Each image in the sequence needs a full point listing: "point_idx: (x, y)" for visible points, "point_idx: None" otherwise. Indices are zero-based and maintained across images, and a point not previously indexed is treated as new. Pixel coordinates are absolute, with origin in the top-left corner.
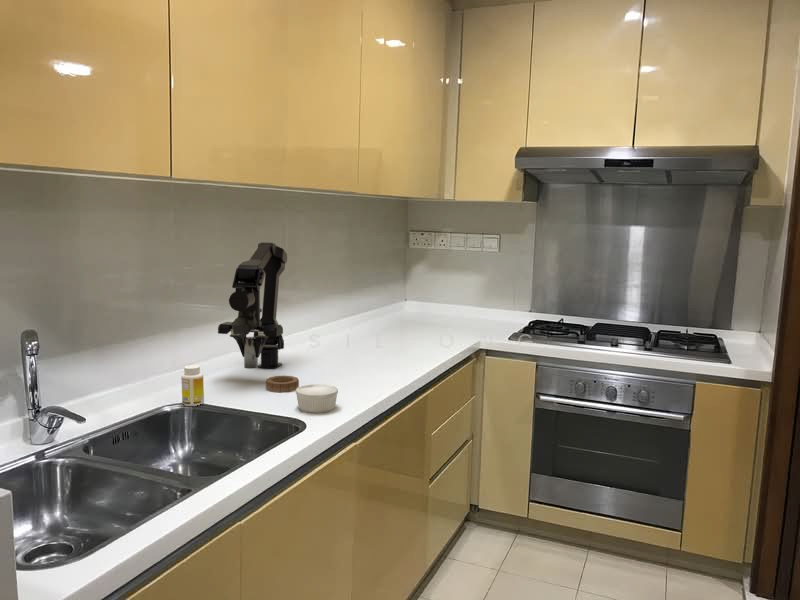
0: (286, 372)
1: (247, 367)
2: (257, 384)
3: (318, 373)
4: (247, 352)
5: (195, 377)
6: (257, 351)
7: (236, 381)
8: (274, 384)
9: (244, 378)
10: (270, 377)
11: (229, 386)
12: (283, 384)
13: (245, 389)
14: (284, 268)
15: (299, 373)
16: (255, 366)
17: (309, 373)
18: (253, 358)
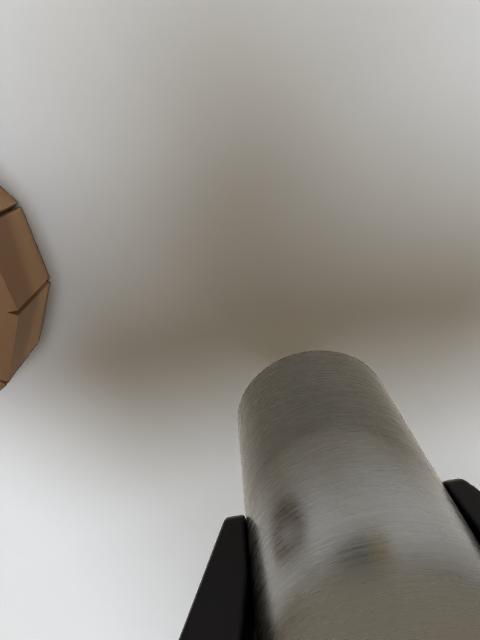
0: (193, 578)
1: (316, 356)
2: (175, 274)
3: (8, 627)
4: (382, 526)
5: None
6: (212, 616)
7: (398, 277)
8: None
9: (378, 375)
10: (10, 320)
11: (381, 93)
12: None
13: (161, 59)
14: None
15: (106, 591)
16: (240, 413)
17: (53, 610)
18: (262, 474)
